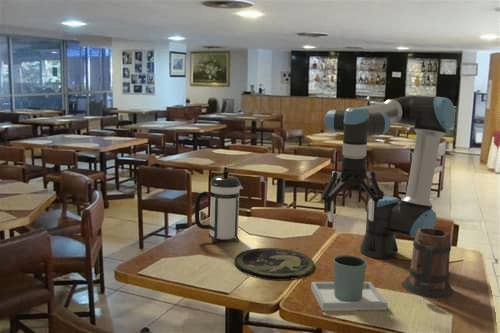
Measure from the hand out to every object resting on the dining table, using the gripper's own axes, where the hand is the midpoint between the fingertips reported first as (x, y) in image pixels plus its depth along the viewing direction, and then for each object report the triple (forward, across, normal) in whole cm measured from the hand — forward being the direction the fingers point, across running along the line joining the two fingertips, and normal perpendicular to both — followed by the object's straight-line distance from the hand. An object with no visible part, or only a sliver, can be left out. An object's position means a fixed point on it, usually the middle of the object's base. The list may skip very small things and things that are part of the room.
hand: (350, 220), depth 163 cm
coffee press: (+24, +39, -52) cm, 69 cm away
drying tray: (+23, +3, +9) cm, 25 cm away
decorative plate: (+24, +21, -22) cm, 39 cm away
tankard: (+24, -26, +4) cm, 36 cm away
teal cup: (+22, +3, +9) cm, 24 cm away
